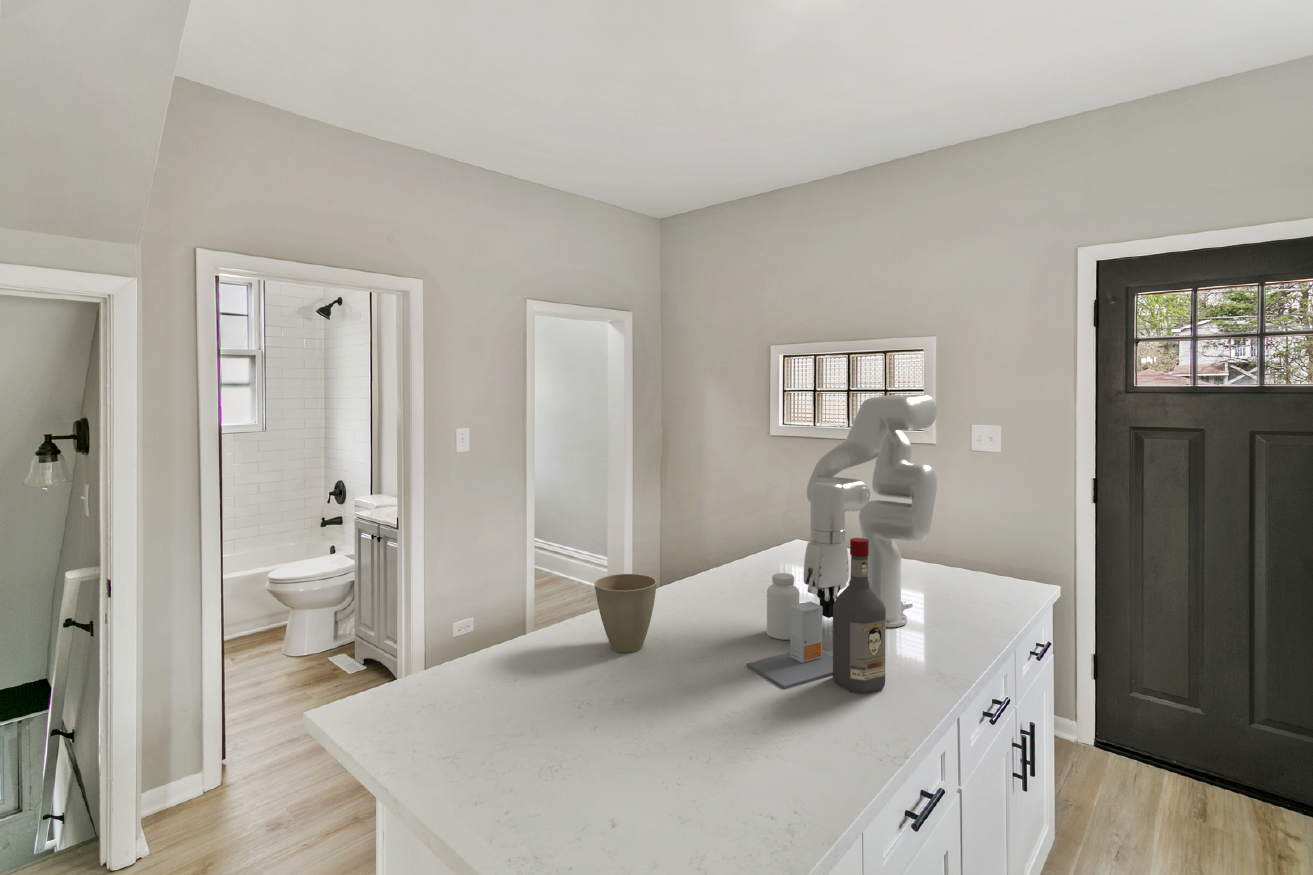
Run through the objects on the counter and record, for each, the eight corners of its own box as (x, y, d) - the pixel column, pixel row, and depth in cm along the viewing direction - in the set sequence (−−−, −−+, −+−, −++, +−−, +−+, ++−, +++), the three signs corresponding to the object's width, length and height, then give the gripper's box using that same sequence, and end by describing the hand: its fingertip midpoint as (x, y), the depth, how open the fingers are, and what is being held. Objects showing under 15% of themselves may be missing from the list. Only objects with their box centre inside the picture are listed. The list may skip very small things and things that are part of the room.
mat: (812, 648, 150) (812, 646, 150) (853, 668, 139) (853, 666, 139) (746, 665, 142) (746, 663, 141) (784, 688, 130) (784, 686, 130)
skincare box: (802, 664, 141) (802, 610, 140) (789, 657, 144) (789, 605, 144) (823, 658, 143) (823, 605, 143) (810, 651, 147) (810, 600, 146)
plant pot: (670, 645, 154) (669, 580, 153) (626, 664, 143) (625, 595, 142) (627, 630, 164) (626, 569, 163) (582, 647, 153) (581, 582, 152)
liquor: (826, 678, 135) (826, 537, 133) (861, 670, 138) (861, 533, 136) (856, 696, 126) (856, 546, 124) (892, 687, 130) (893, 541, 128)
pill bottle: (799, 641, 155) (799, 580, 154) (766, 639, 157) (765, 579, 156) (799, 629, 163) (799, 571, 162) (767, 628, 164) (766, 570, 163)
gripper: (839, 529, 152) (839, 605, 153) (790, 537, 145) (790, 616, 146) (863, 535, 145) (863, 614, 146) (813, 543, 138) (813, 626, 139)
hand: (827, 615), depth 146 cm, fingers closed
